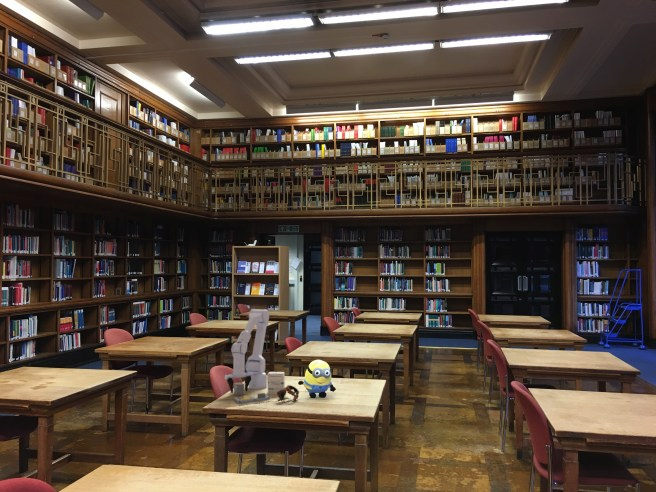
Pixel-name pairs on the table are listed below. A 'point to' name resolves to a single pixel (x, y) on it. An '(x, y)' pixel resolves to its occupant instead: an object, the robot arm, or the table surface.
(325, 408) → the table surface
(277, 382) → the ink box
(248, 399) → the brass tag
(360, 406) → the table surface
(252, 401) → the socket panel
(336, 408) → the table surface
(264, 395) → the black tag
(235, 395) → the deck
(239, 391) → the plug
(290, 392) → the brown curved arch
